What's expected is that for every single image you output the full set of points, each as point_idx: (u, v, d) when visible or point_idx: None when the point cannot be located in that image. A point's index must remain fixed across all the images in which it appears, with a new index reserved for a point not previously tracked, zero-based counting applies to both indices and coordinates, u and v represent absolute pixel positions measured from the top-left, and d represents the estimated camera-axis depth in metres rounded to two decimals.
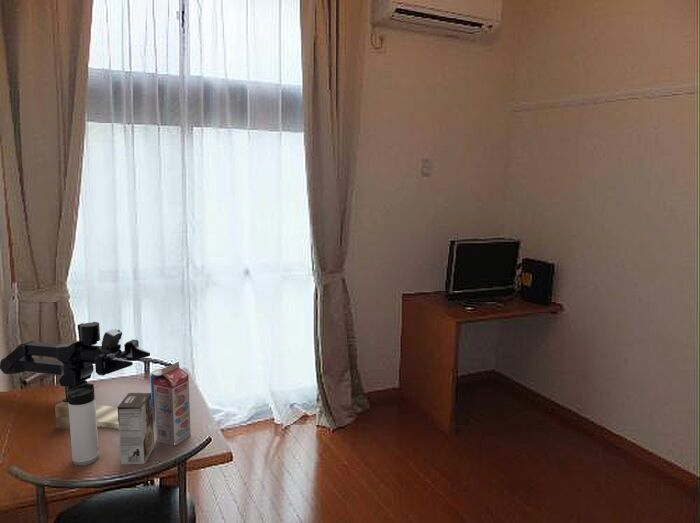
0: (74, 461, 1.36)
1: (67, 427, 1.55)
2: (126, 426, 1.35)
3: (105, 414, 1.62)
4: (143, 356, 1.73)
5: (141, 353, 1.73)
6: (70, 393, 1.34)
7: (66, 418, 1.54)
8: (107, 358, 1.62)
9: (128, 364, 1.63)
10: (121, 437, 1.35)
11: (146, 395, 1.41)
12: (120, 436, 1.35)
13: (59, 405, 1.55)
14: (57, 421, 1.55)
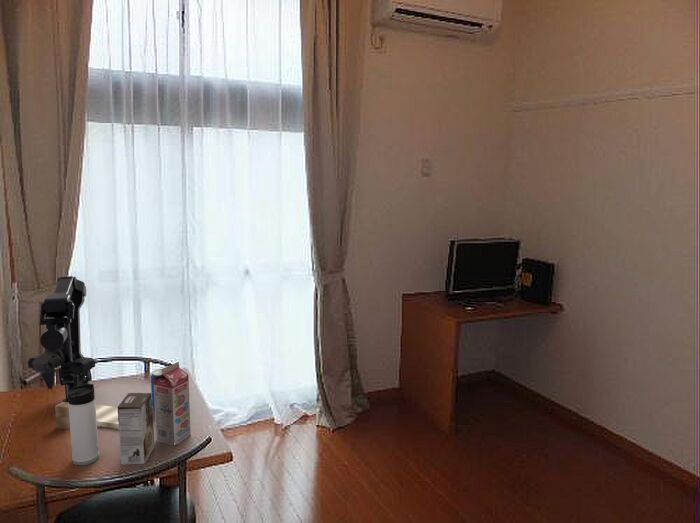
0: (74, 461, 1.36)
1: (67, 427, 1.55)
2: (126, 426, 1.35)
3: (105, 414, 1.62)
4: None
5: None
6: (70, 393, 1.34)
7: (66, 418, 1.54)
8: None
9: None
10: (121, 437, 1.35)
11: (146, 395, 1.41)
12: (120, 436, 1.35)
13: (59, 405, 1.55)
14: (57, 421, 1.55)
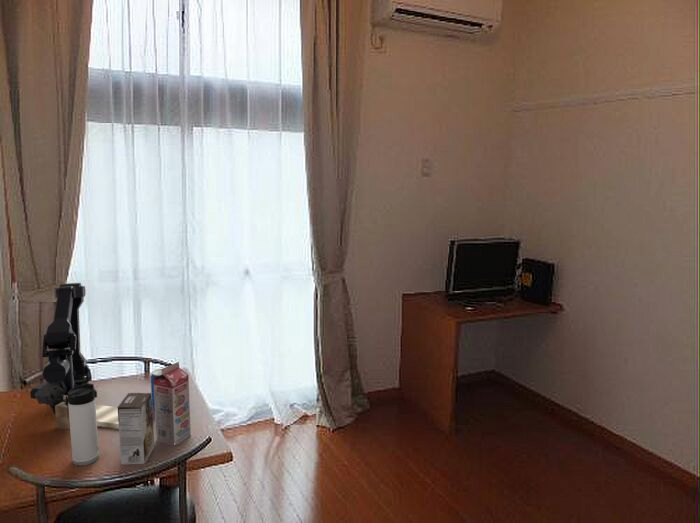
0: (74, 461, 1.36)
1: (67, 427, 1.55)
2: (126, 426, 1.35)
3: (105, 414, 1.62)
4: None
5: None
6: (70, 393, 1.34)
7: (66, 418, 1.54)
8: None
9: None
10: (121, 437, 1.35)
11: (146, 395, 1.41)
12: (120, 436, 1.35)
13: (59, 405, 1.55)
14: (57, 421, 1.55)
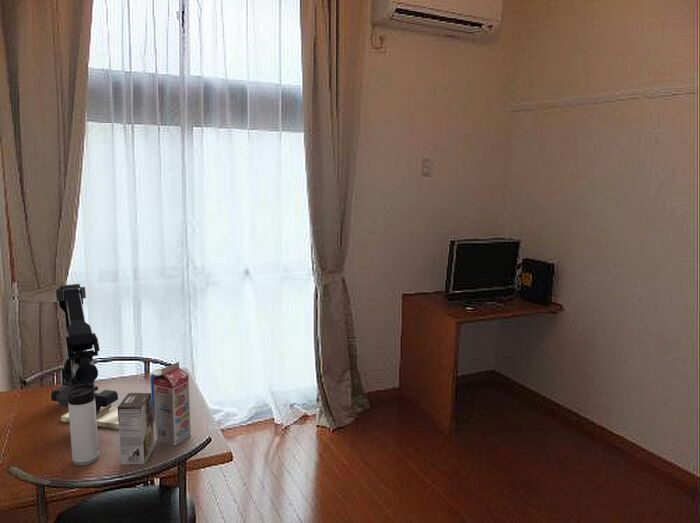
0: (74, 461, 1.36)
1: None
2: (126, 426, 1.35)
3: (105, 414, 1.62)
4: None
5: None
6: (70, 393, 1.34)
7: None
8: None
9: None
10: (121, 437, 1.35)
11: (146, 395, 1.41)
12: (120, 436, 1.35)
13: None
14: None
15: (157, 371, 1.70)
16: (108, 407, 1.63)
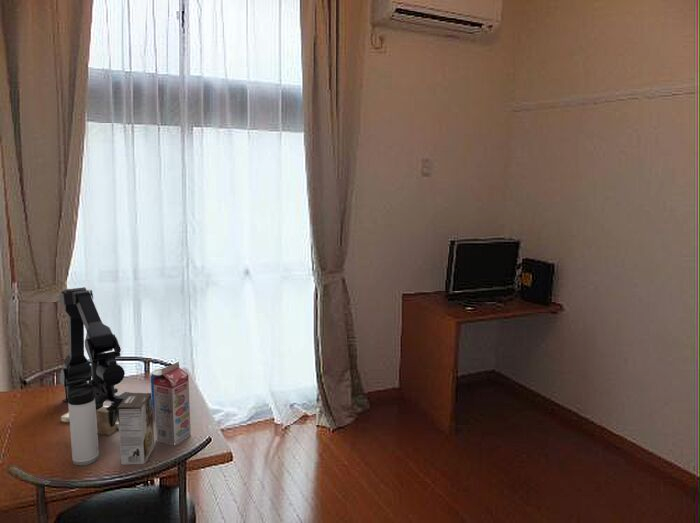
0: (74, 461, 1.36)
1: (108, 432, 1.52)
2: (126, 426, 1.35)
3: None
4: None
5: None
6: (70, 393, 1.34)
7: (107, 423, 1.51)
8: None
9: None
10: (121, 437, 1.35)
11: (146, 395, 1.41)
12: (120, 436, 1.35)
13: (100, 410, 1.52)
14: (97, 426, 1.52)
15: (157, 371, 1.70)
16: None
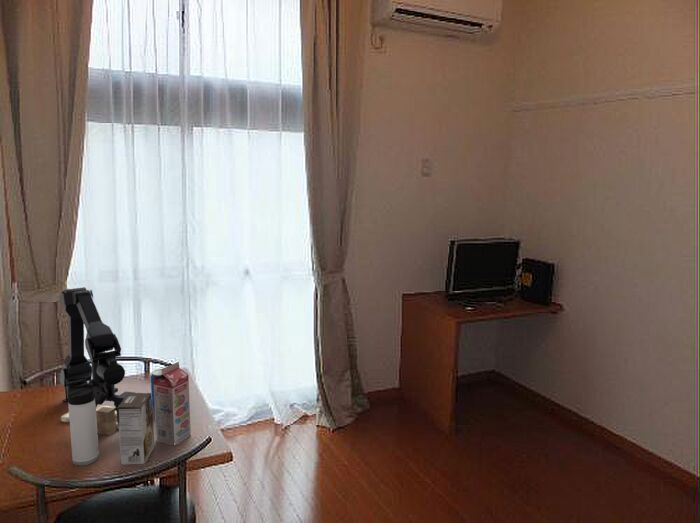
0: (74, 461, 1.36)
1: (108, 432, 1.52)
2: (126, 426, 1.35)
3: None
4: None
5: None
6: (70, 393, 1.34)
7: (107, 423, 1.51)
8: None
9: None
10: (121, 437, 1.35)
11: (146, 395, 1.41)
12: (120, 436, 1.35)
13: (100, 410, 1.52)
14: (98, 426, 1.52)
15: (157, 371, 1.70)
16: None
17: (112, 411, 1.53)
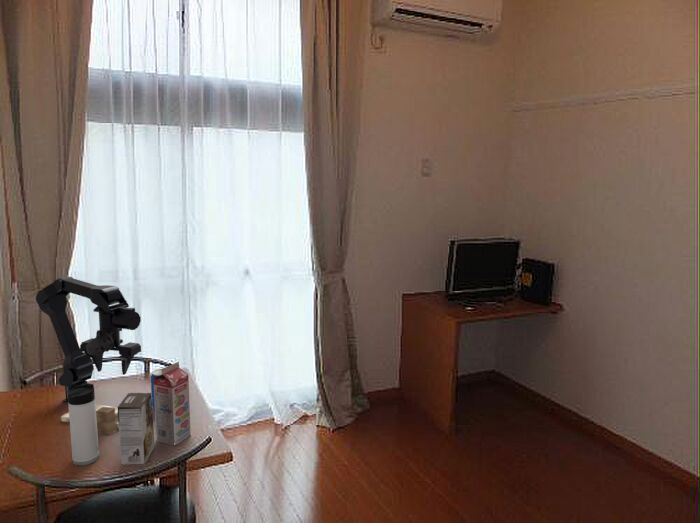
0: (74, 461, 1.36)
1: (108, 432, 1.52)
2: (126, 426, 1.35)
3: None
4: None
5: None
6: (70, 393, 1.34)
7: (107, 423, 1.51)
8: None
9: None
10: (121, 437, 1.35)
11: (146, 395, 1.41)
12: (120, 436, 1.35)
13: (100, 410, 1.52)
14: (98, 426, 1.52)
15: (157, 371, 1.70)
16: None
17: (112, 411, 1.53)
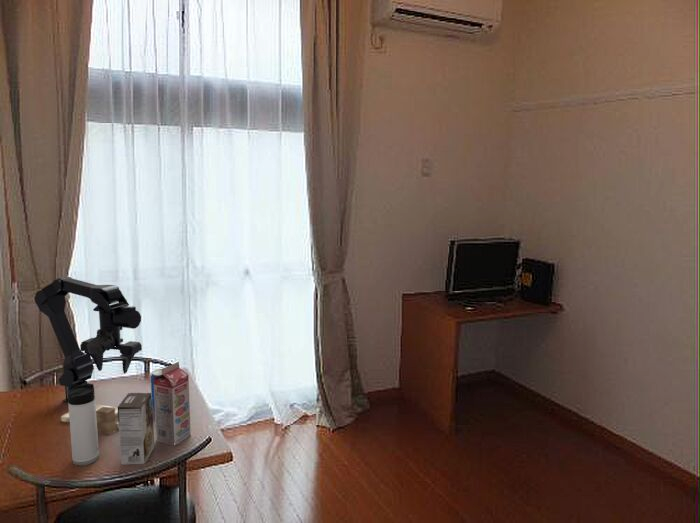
0: (74, 461, 1.36)
1: (108, 432, 1.52)
2: (126, 426, 1.35)
3: None
4: None
5: None
6: (70, 393, 1.34)
7: (107, 423, 1.51)
8: None
9: None
10: (121, 437, 1.35)
11: (146, 395, 1.41)
12: (120, 436, 1.35)
13: (100, 410, 1.52)
14: (98, 426, 1.52)
15: (157, 371, 1.70)
16: None
17: (112, 411, 1.53)
